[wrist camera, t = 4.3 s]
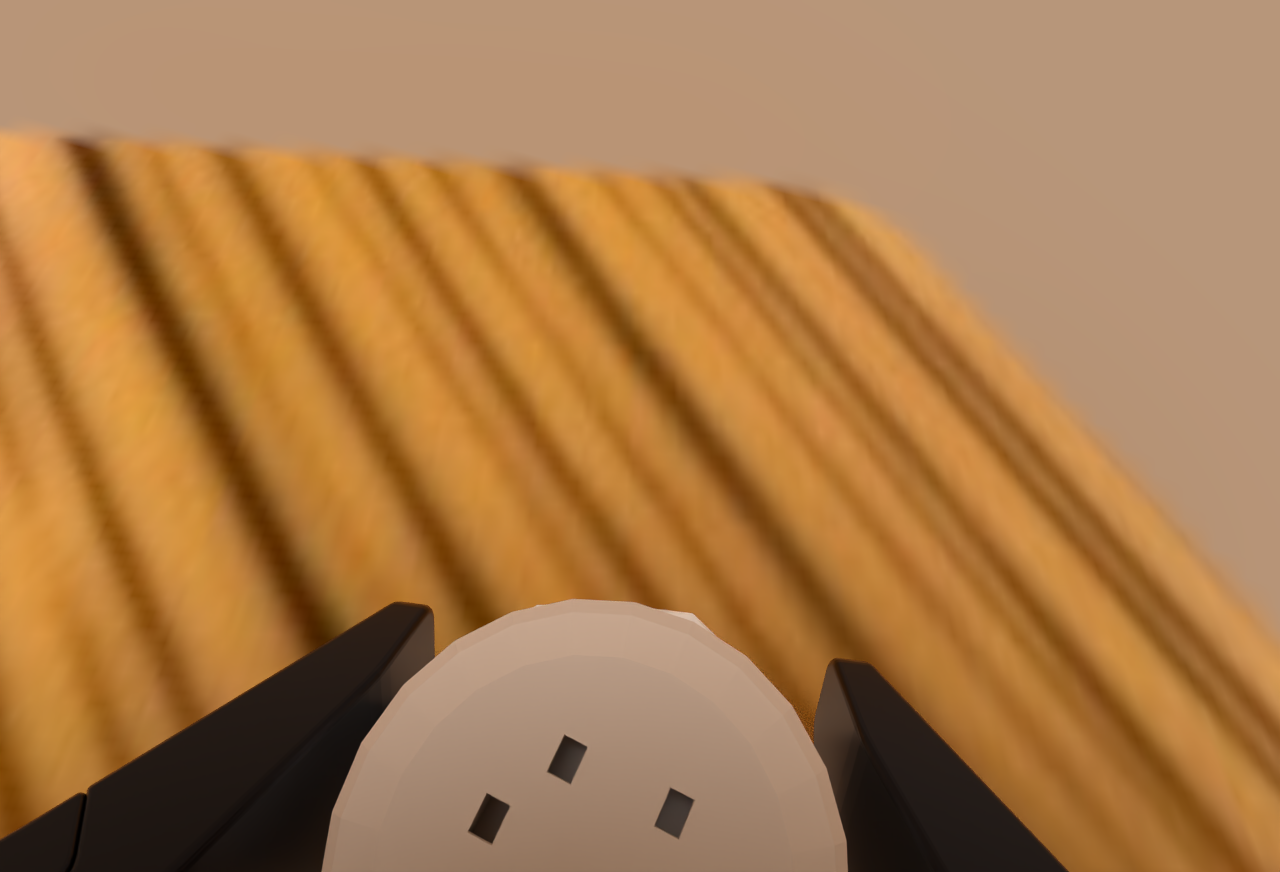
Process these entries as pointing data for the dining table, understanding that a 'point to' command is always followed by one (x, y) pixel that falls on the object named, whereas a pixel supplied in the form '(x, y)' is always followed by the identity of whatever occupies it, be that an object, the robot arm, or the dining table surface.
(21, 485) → the dining table surface
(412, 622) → the robot arm
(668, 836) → the pepper shaker
